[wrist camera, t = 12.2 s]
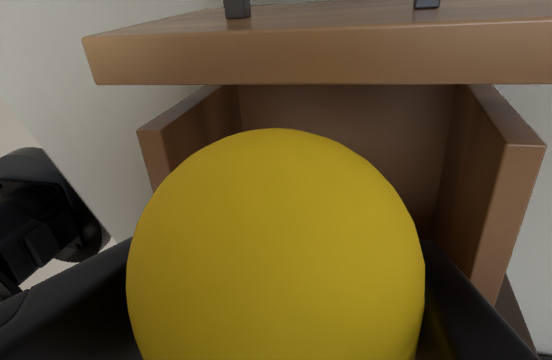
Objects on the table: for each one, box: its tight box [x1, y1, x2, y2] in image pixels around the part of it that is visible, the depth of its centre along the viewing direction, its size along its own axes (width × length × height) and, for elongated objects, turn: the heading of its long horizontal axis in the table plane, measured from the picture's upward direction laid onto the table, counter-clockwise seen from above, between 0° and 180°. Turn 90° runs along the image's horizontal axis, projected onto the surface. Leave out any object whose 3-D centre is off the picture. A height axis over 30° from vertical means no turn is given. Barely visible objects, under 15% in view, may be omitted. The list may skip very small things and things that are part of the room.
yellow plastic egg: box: [126, 128, 425, 360], centre depth 7 cm, size 6×5×5 cm
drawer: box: [82, 0, 552, 307], centre depth 13 cm, size 18×11×7 cm, turn 4°
